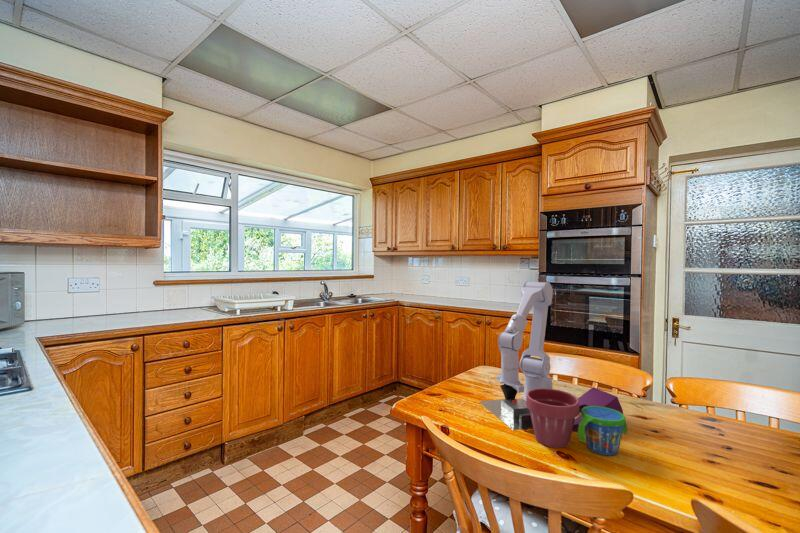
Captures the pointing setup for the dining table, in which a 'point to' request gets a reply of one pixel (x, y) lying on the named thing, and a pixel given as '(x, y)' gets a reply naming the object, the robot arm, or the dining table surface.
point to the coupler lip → (495, 408)
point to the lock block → (513, 408)
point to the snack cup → (602, 429)
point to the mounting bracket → (597, 402)
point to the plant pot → (552, 415)
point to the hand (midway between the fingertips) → (510, 406)
